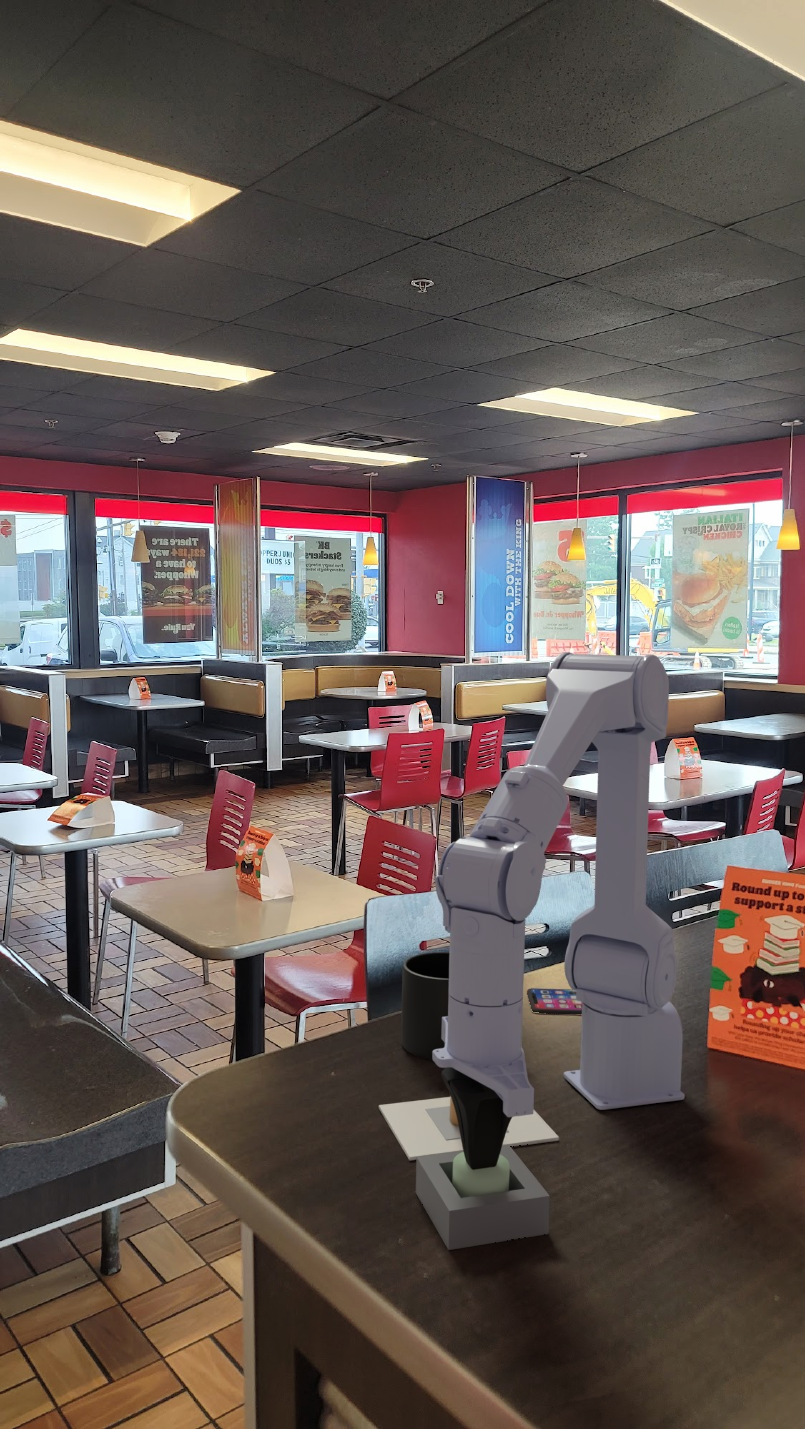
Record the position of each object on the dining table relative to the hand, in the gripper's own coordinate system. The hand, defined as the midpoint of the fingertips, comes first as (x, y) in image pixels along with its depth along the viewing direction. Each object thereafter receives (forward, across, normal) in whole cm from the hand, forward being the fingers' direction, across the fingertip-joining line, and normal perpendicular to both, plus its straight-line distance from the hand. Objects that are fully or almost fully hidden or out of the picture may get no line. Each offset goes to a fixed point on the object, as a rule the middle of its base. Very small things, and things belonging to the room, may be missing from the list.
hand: (481, 1164), depth 80 cm
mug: (+4, -31, +9) cm, 33 cm away
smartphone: (+4, -40, +30) cm, 50 cm away
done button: (+3, 0, 0) cm, 3 cm away
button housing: (+4, 0, 0) cm, 4 cm away
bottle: (+3, -14, +4) cm, 15 cm away
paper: (+4, -14, +4) cm, 15 cm away
